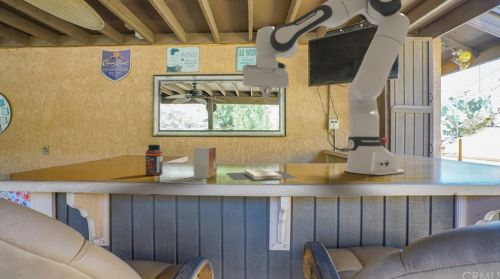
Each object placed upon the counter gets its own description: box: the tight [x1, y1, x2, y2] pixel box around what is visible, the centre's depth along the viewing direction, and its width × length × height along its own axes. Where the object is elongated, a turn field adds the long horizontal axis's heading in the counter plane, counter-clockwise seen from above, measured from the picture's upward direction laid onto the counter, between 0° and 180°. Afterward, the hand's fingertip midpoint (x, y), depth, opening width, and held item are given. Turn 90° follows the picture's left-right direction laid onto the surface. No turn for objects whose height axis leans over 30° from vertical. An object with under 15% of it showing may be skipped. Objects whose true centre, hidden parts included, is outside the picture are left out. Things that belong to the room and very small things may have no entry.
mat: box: [225, 170, 298, 181], centre depth 100 cm, size 22×16×1 cm
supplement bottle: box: [145, 143, 163, 177], centre depth 105 cm, size 6×6×11 cm
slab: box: [244, 169, 283, 181], centre depth 97 cm, size 9×1×14 cm
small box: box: [193, 146, 217, 180], centre depth 99 cm, size 8×6×10 cm
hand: (265, 97), depth 123 cm, fingers closed
